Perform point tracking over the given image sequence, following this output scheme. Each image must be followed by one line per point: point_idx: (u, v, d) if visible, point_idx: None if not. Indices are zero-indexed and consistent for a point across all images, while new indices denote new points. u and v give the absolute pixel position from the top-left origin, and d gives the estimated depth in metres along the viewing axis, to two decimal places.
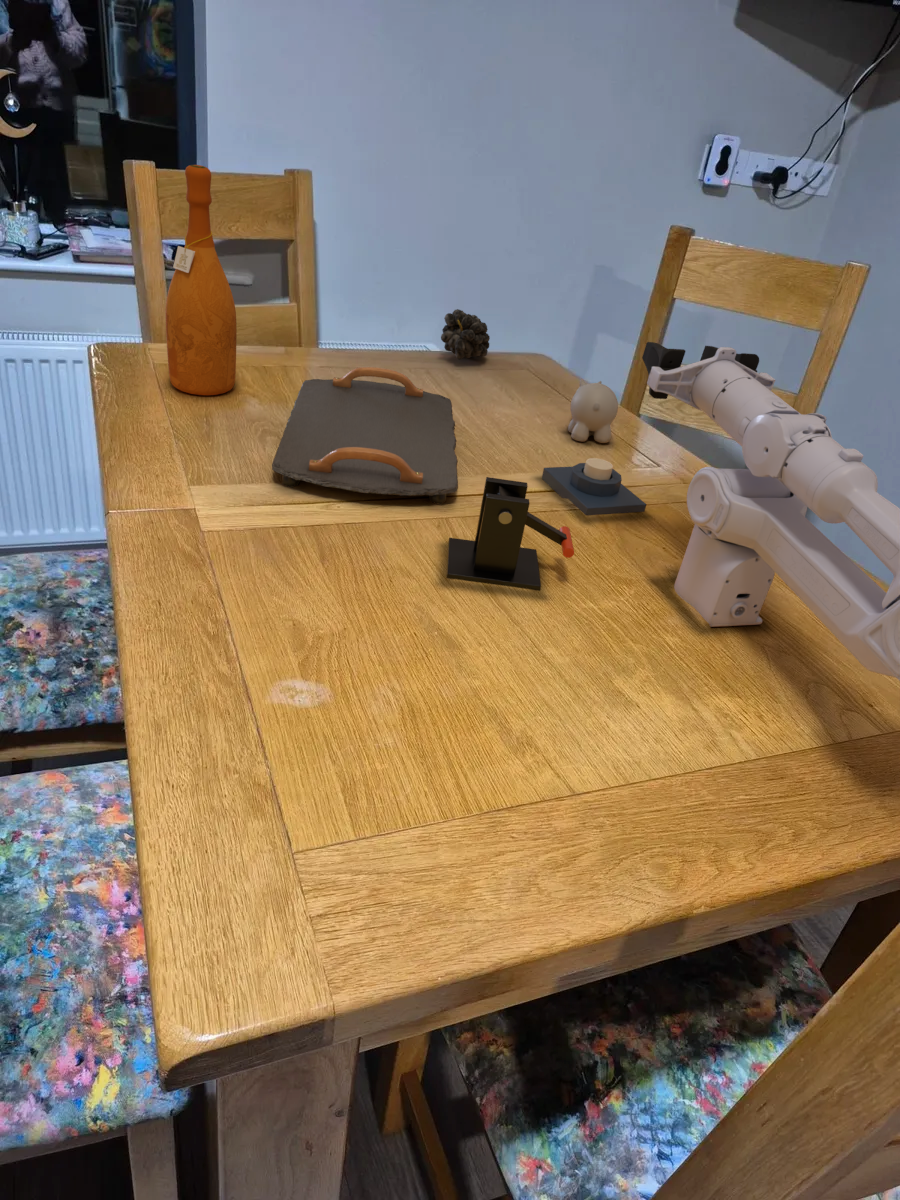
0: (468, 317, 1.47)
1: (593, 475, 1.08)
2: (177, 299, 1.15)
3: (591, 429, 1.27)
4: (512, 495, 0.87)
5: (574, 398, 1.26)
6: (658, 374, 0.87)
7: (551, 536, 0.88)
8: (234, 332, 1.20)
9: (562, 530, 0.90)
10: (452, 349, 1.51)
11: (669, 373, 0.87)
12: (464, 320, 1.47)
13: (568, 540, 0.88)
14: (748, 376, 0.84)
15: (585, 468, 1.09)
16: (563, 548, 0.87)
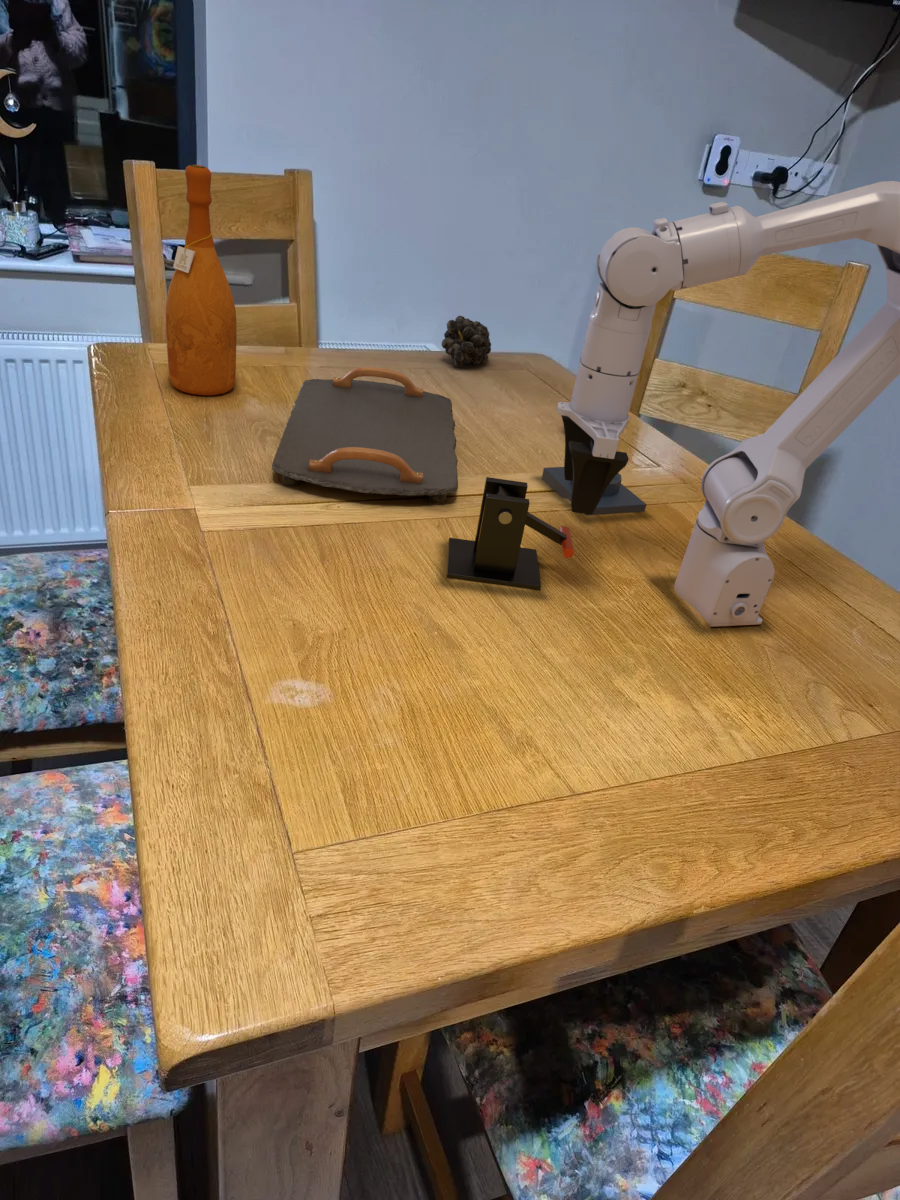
0: (469, 329, 1.47)
1: None
2: (177, 299, 1.15)
3: None
4: (512, 495, 0.87)
5: None
6: (599, 439, 0.75)
7: (551, 536, 0.88)
8: (234, 332, 1.20)
9: (562, 530, 0.90)
10: (452, 355, 1.51)
11: (595, 432, 0.76)
12: (465, 331, 1.47)
13: (568, 540, 0.88)
14: (579, 364, 0.79)
15: None
16: (563, 548, 0.87)
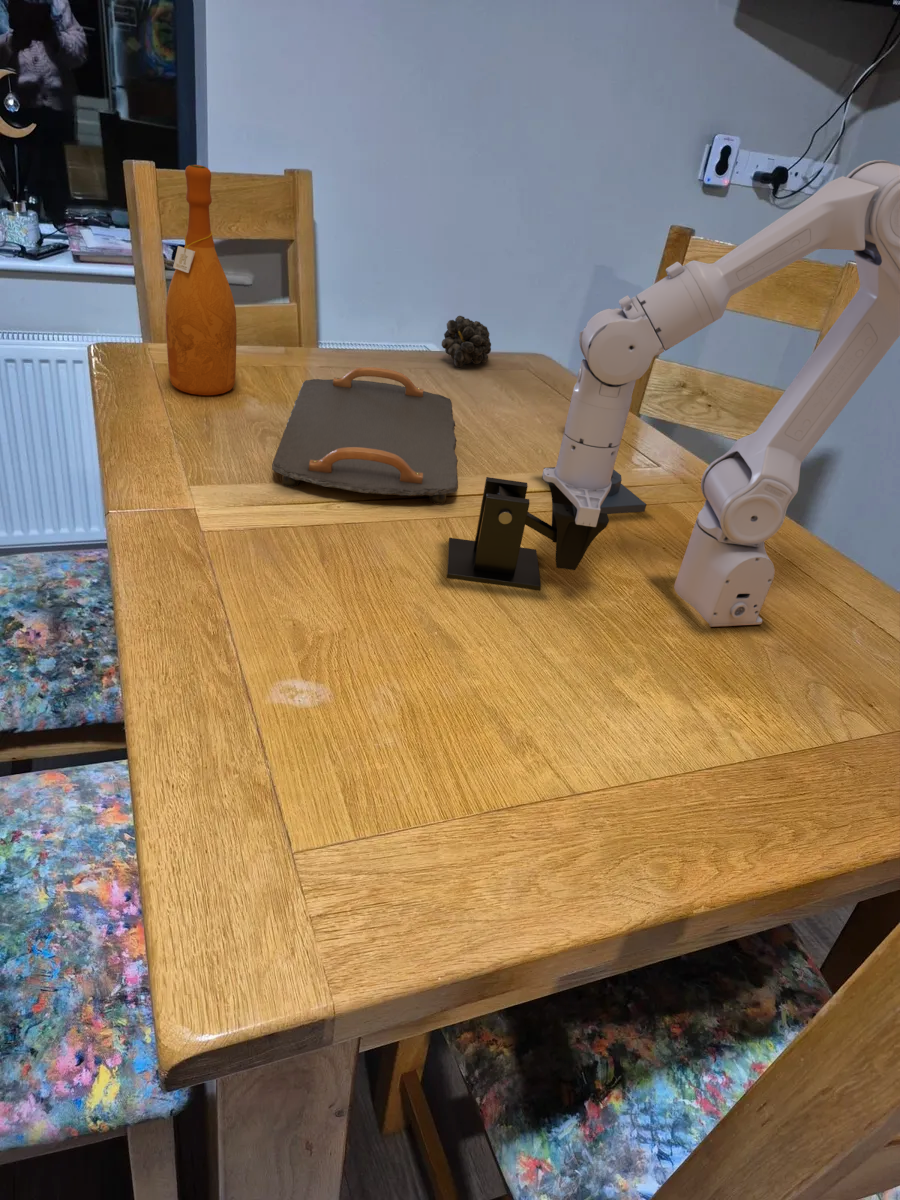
0: (469, 329, 1.47)
1: None
2: (177, 299, 1.15)
3: None
4: (512, 495, 0.87)
5: None
6: (581, 509, 0.79)
7: (551, 536, 0.88)
8: (234, 332, 1.20)
9: None
10: (452, 355, 1.51)
11: (578, 502, 0.80)
12: (465, 331, 1.47)
13: None
14: (563, 434, 0.83)
15: None
16: None
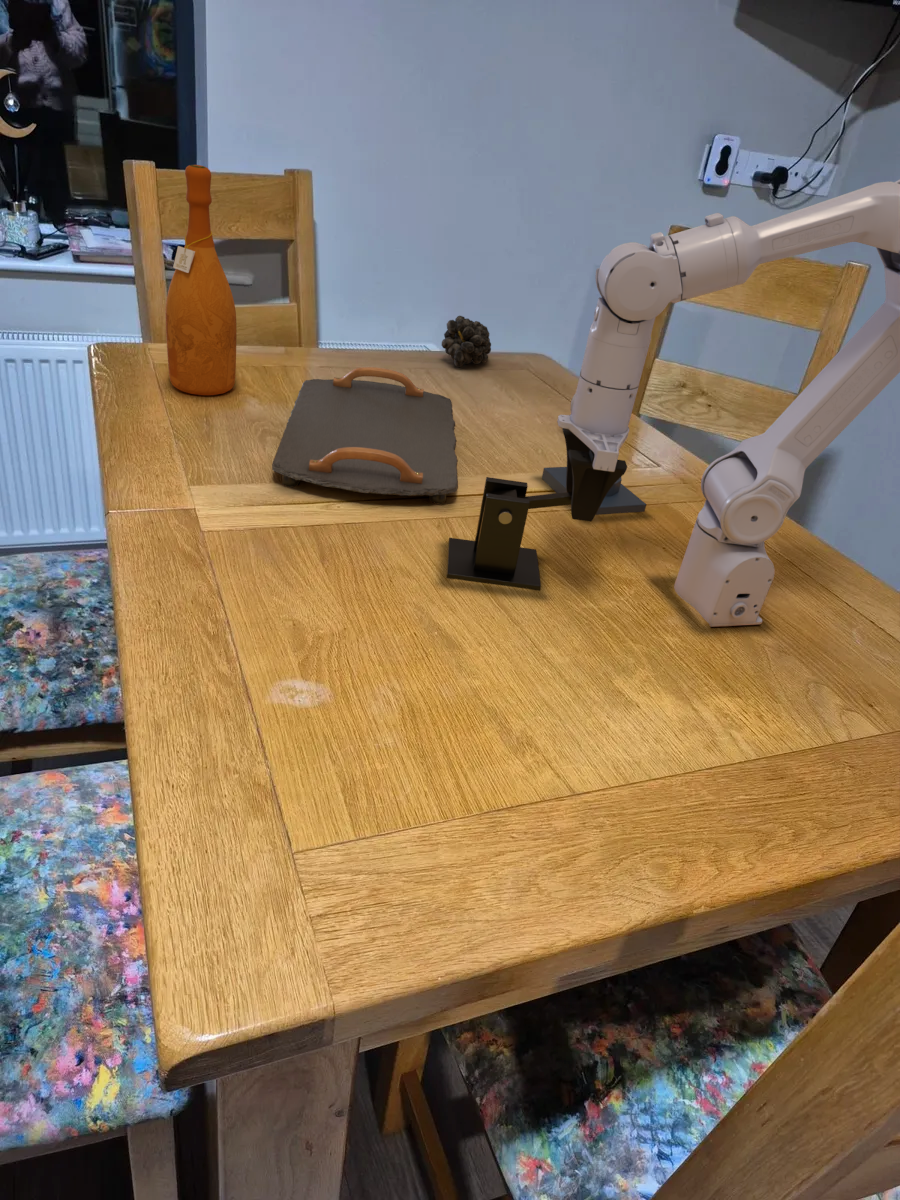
0: (469, 329, 1.47)
1: None
2: (177, 299, 1.15)
3: None
4: (505, 492, 0.87)
5: (574, 398, 1.26)
6: (599, 452, 0.76)
7: (563, 502, 0.86)
8: (234, 332, 1.20)
9: None
10: (452, 355, 1.51)
11: (595, 445, 0.77)
12: (465, 331, 1.47)
13: None
14: (579, 377, 0.80)
15: None
16: None
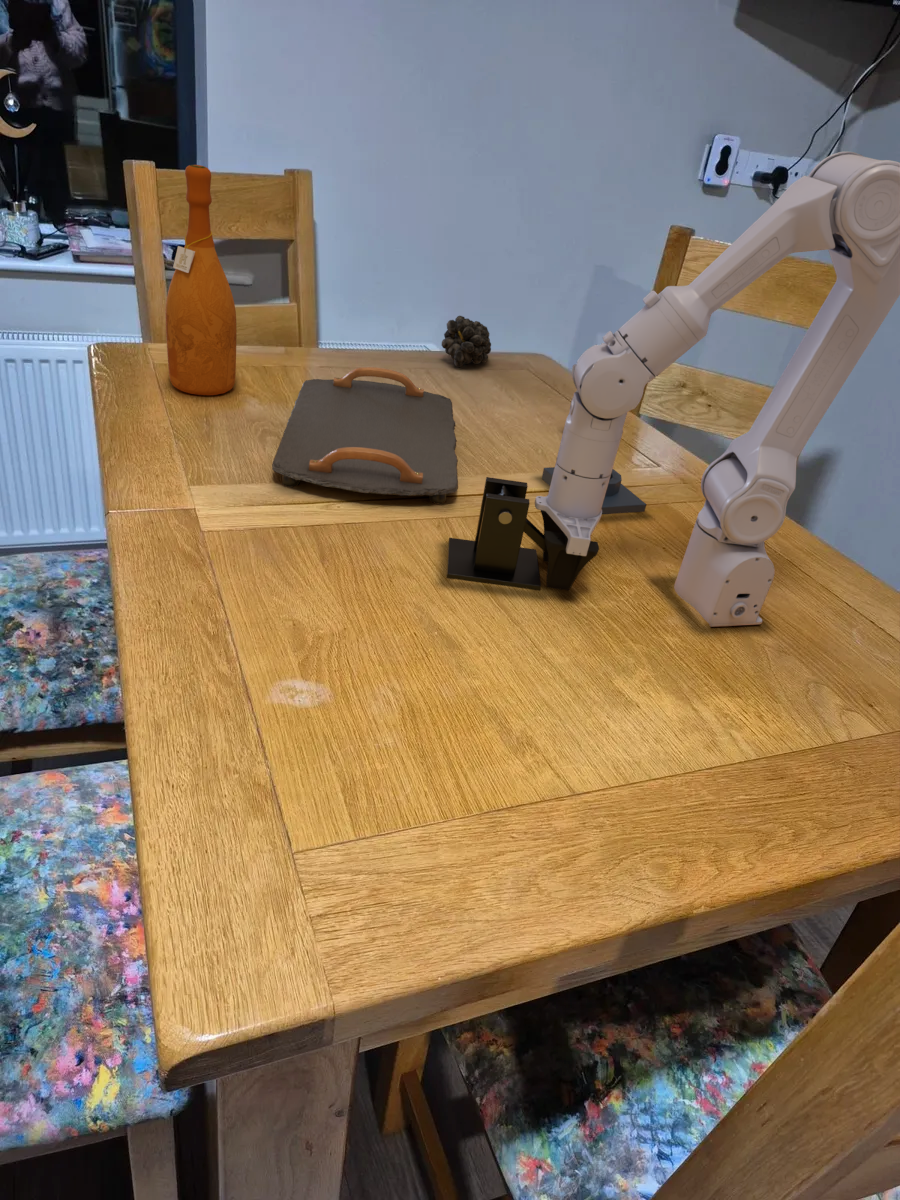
0: (469, 329, 1.47)
1: None
2: (177, 299, 1.15)
3: None
4: None
5: None
6: (572, 539, 0.81)
7: (542, 545, 0.89)
8: (234, 332, 1.20)
9: None
10: (452, 355, 1.51)
11: (569, 531, 0.81)
12: (465, 331, 1.47)
13: None
14: None
15: None
16: None
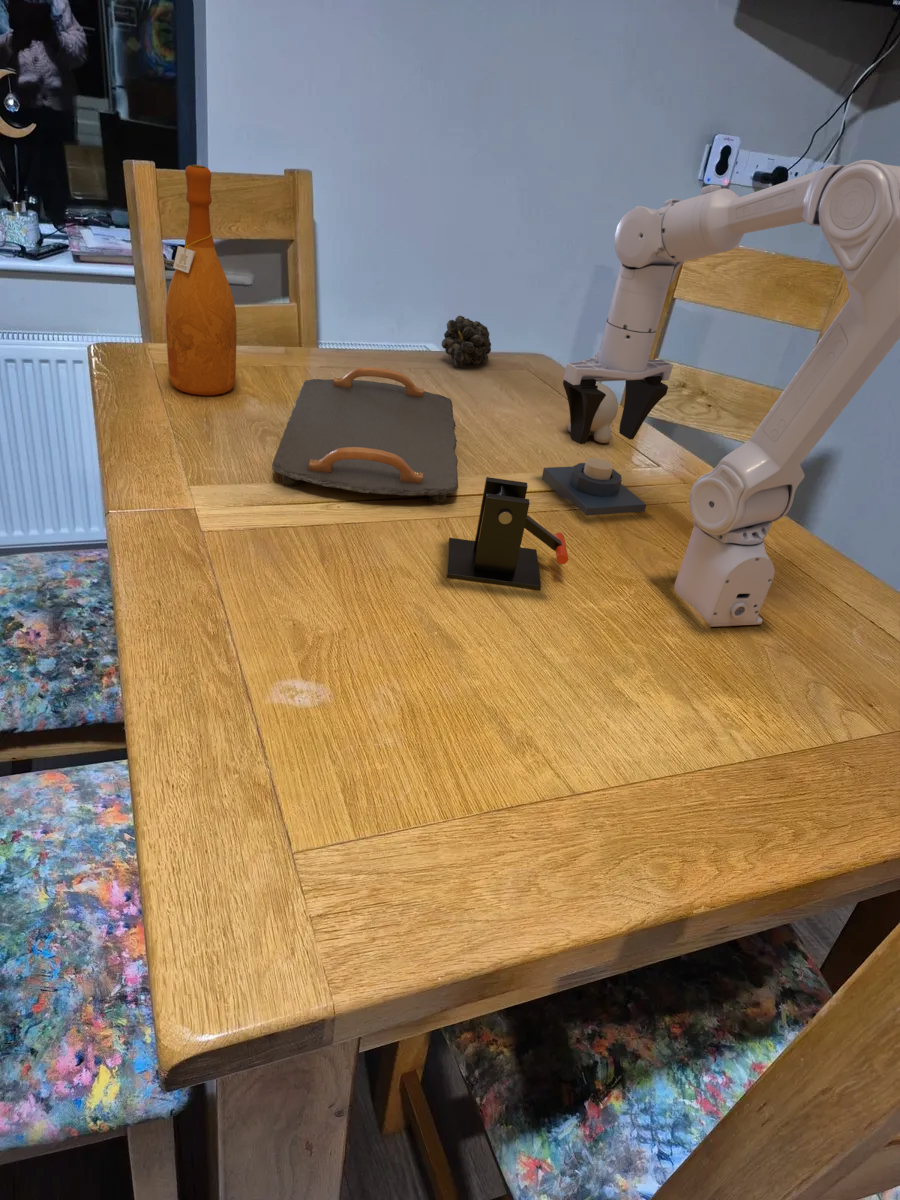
0: (469, 329, 1.47)
1: (593, 475, 1.08)
2: (177, 299, 1.15)
3: (591, 429, 1.27)
4: (513, 496, 0.87)
5: None
6: (567, 365, 0.93)
7: (547, 541, 0.88)
8: (234, 332, 1.20)
9: (557, 536, 0.90)
10: (452, 355, 1.51)
11: (574, 362, 0.93)
12: (465, 331, 1.47)
13: (563, 547, 0.88)
14: None
15: (585, 468, 1.09)
16: (558, 554, 0.88)
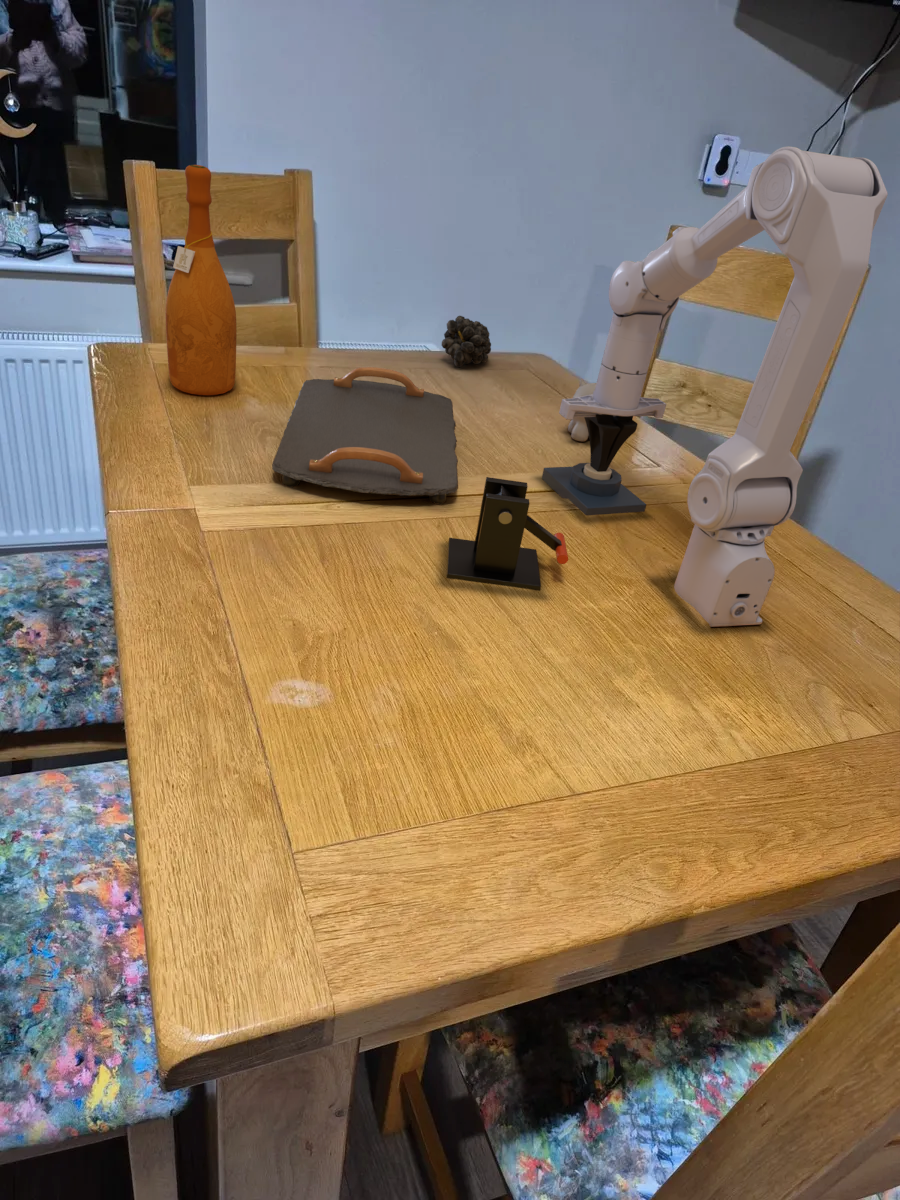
0: (469, 329, 1.47)
1: None
2: (177, 299, 1.15)
3: None
4: (513, 496, 0.87)
5: None
6: (562, 401, 1.02)
7: (547, 541, 0.88)
8: (234, 332, 1.20)
9: (557, 536, 0.90)
10: (452, 355, 1.51)
11: (569, 399, 1.03)
12: (465, 331, 1.47)
13: (563, 547, 0.88)
14: None
15: (584, 473, 1.09)
16: (558, 554, 0.88)
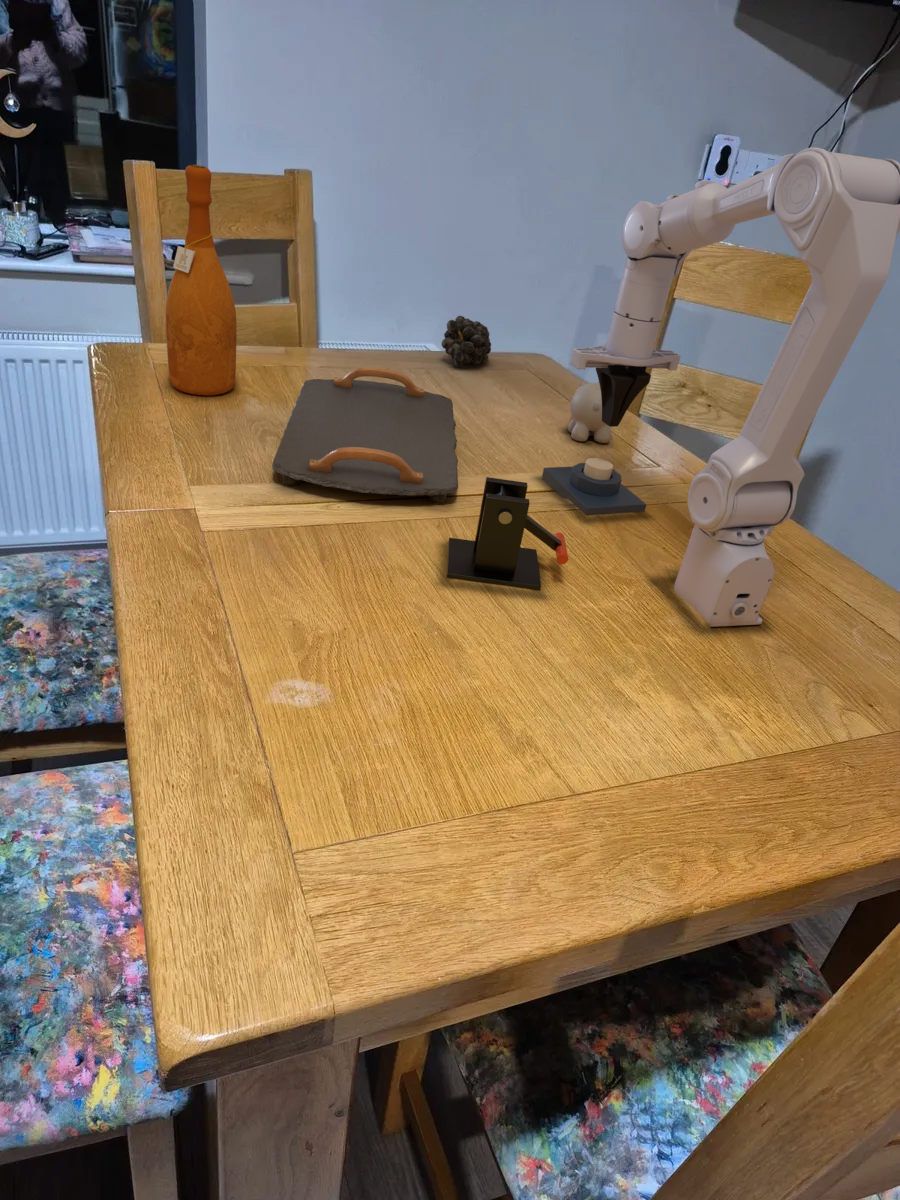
0: (469, 329, 1.47)
1: (593, 475, 1.08)
2: (177, 299, 1.15)
3: (591, 429, 1.27)
4: (513, 496, 0.87)
5: (574, 398, 1.26)
6: (573, 350, 0.99)
7: (547, 541, 0.88)
8: (234, 332, 1.20)
9: (557, 536, 0.90)
10: (452, 355, 1.51)
11: (580, 348, 0.99)
12: (465, 331, 1.47)
13: (563, 547, 0.88)
14: None
15: (585, 468, 1.09)
16: (558, 554, 0.88)
